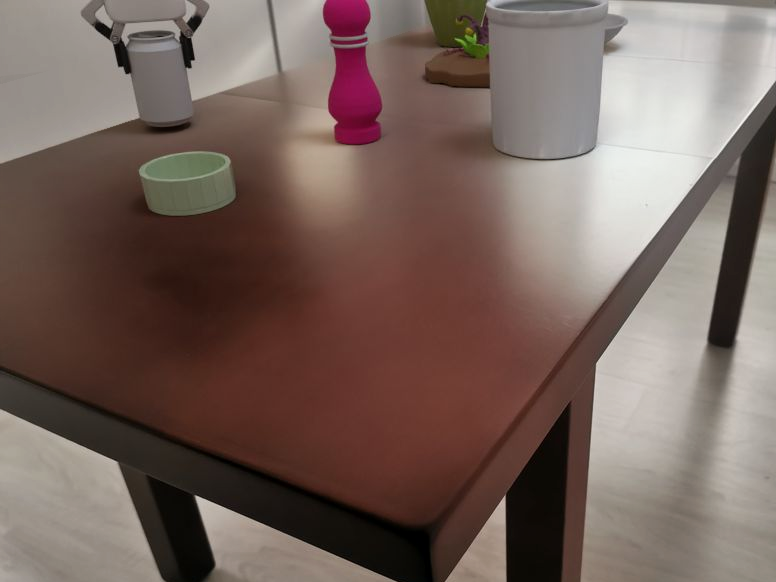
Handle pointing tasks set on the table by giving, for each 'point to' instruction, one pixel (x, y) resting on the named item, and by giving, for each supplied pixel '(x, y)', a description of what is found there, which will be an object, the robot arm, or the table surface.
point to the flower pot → (453, 19)
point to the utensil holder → (545, 75)
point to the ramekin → (188, 183)
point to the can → (159, 78)
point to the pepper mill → (352, 73)
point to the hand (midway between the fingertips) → (157, 68)
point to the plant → (464, 59)
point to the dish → (613, 26)
